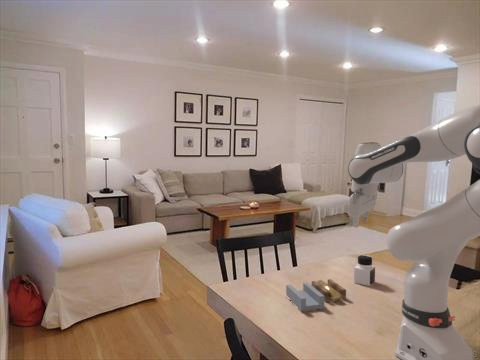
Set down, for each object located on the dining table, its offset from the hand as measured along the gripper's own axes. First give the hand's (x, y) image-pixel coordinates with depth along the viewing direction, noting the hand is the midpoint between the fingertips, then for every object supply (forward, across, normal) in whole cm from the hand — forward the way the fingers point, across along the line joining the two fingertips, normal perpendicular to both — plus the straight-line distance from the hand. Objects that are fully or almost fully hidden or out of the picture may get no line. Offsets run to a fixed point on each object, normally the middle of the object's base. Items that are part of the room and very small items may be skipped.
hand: (360, 224), depth 128 cm
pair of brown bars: (+33, +4, +11) cm, 35 cm away
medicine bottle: (+34, +26, +4) cm, 43 cm away
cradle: (+33, -9, +16) cm, 38 cm away
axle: (+32, +4, +11) cm, 34 cm away
